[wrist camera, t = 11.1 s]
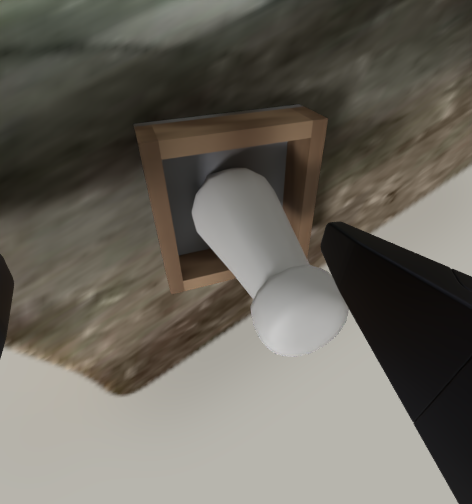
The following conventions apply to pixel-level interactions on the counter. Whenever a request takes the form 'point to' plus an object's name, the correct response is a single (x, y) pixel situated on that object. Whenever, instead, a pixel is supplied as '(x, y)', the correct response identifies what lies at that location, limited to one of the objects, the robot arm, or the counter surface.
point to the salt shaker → (268, 262)
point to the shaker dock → (220, 158)
